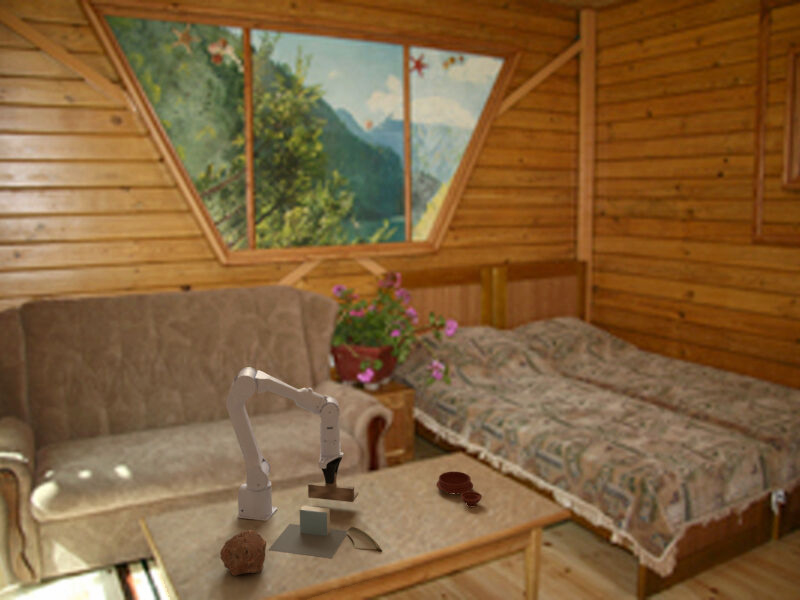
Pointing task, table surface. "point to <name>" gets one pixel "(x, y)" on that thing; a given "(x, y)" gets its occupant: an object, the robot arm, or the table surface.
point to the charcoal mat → (308, 542)
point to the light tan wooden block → (314, 520)
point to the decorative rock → (244, 553)
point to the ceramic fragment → (362, 539)
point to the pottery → (459, 486)
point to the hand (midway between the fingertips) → (330, 481)
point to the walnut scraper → (331, 491)
